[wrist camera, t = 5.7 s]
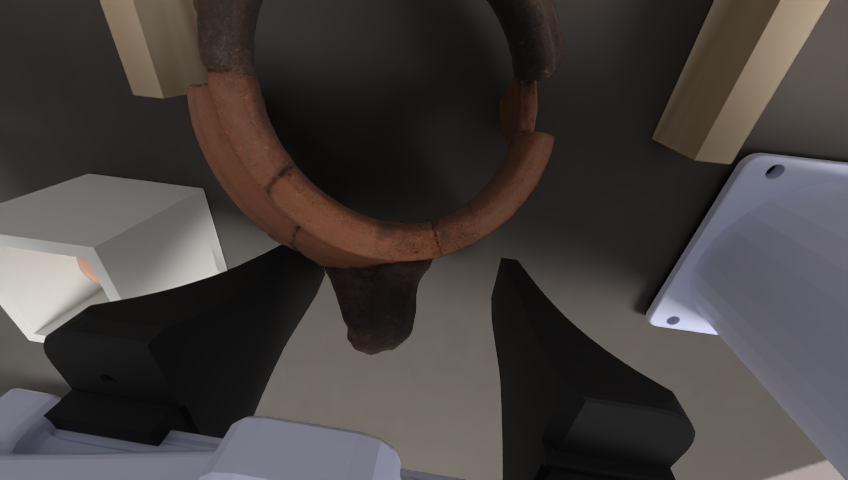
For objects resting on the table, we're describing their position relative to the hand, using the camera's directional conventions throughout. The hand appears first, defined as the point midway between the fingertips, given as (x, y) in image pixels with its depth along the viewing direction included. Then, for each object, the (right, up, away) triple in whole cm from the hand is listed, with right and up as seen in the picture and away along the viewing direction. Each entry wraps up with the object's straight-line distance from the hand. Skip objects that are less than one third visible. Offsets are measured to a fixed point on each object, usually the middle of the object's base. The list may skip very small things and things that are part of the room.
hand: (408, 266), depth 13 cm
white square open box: (-12, +1, +3) cm, 13 cm away
